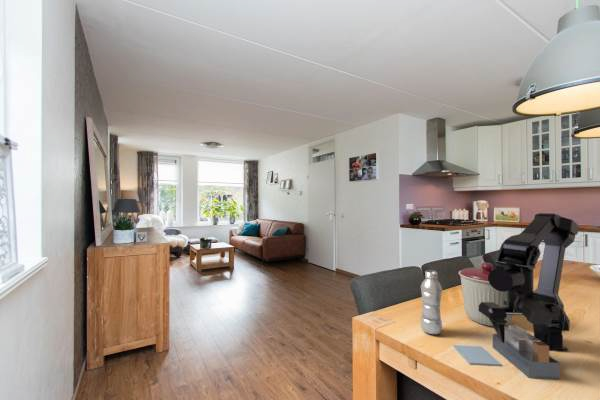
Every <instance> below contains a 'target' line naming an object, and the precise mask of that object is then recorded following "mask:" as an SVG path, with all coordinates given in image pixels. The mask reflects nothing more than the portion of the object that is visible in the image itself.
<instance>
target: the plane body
mask: <svg viewBox="0 0 600 400" xmlns="http://www.w3.org/2000/svg"><path fill="white" fill-rule="evenodd" d="M504 327H505V328H509V325H507V326H506V325H505V326H504ZM492 348H493V349H494V350H495V351H496V352H498V354H500V355H501V356H502V357H504V358H505V359H506V360H507V361H508V362H509V363H511V364H512V365H513V366H514V367H515V368H516V369H517V370H519V371H520V372H522V373H523V374H524V375H525V376H526V377H527V378H529V379H546V380H547V379H548V380H560V362H558V361H557V360H556V359H554V358H553V357H552V356H550V350H549V345H547V344H545V343H544V342H539V341H532V352H520V351H517V350H516V349H515V348H514V347H512V346H511V345H510V344H508V343H507V342H506V341H504V343H502V342H501V341H500V339H499V337H498V335H497V333H492Z"/></svg>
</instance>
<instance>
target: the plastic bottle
mask: <svg viewBox="0 0 600 400" xmlns="http://www.w3.org/2000/svg"><path fill="white" fill-rule="evenodd" d="M424 273H425V275H424V277H425V279H424V280H422V282H421V284H420V290H421V302H422V310H421V311H422V312H421V316H420V317H421V318H420V327H421V329H422V332H423V331H424V333H427V334H428V335H440V333H441V332H442V329H443V323H442V318H441V301H442V300H441V299H442V294H443V288H442V285H441V283H440V282H439V280H438V278H439V277H438V272H437V271H436V270H430V269H429V270H427V269H426V270H425V271H424Z"/></svg>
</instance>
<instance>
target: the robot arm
mask: <svg viewBox="0 0 600 400" xmlns="http://www.w3.org/2000/svg"><path fill="white" fill-rule="evenodd" d="M578 233H579V224H578V223H577V222H575V221H574V220H573V219H571V218H567V217H565V216H561V215H559V214H557V213H553V212H552V213H547V212H546V213H545V212H543V213H542V212H539V213H535V215H534V218H533V220H532V221H531V222H529V224H528V225H527V226H526V227H525V228H524V229H523V230H522V231H521V233H518V234H514V235H510V236H509V237H507V238H506V239H505V240H504V241H503V242H502V243H501V245H500V248H499V251H498V253H497V255H496V259H495V262H494V263H495V264H496V265H495V266H496V268H493V270H492V271H491V272H490V273H489V275H488V281H489V283H490V285H491V286H492V287H493V288H494V289H496V290H498V291H502V292H505V291H507V301H505V300H504V304H505V305H506V306H507V307H501V306H499V305H497V304H496V303H494V302H481V303H480V304H479V312H481V313H482V314H484V315H485V316H487V317H488V318H489V319H490V321H491V323H492V324H493V326H494V327H493V326H492V327H493V328H494V331H495V334H497V335H498V337H499V339H500V341H501V342H502V343H504V340H505V327H504V326H505V324H506V323H507V321H506V320H504V319H505V318H506V315H512V316H524V317H525V318H526V321H527V322H528V323H530V324H531V325H532V329H533V336H534V337H535V338H537V339H539V340H540V341H541V342H544V343H545V344H547V345H549V351H569V348H568V347H566V346H564V338H563V336H564V335H563V332H569V331H570V326H571V324H570V319H569V317H568V315H567V313H566V311H565V304H564V302H563V300H561V297H560V296H559V290H560V284H561V278H562V272H563V266H564V260H565V254H566V249H567V248H568V247H569V246H570V245H572V244H573V243H574V242H575V239H576V236H577V235H578ZM542 242H544V248H543V249H544V250H543V254H542V261H541V266H540V272H539V278H538V282H537V283H538V284H537V288H536V289H534V270H535V269H536V265H537V263H538V260H539V259H540V257H541V250H540V247H539V246H540V245H541V243H542Z"/></svg>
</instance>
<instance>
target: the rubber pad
mask: <svg viewBox="0 0 600 400" xmlns="http://www.w3.org/2000/svg"><path fill="white" fill-rule="evenodd" d="M452 347H453V348H454V349H455V350H456V352H458V354H459V355H461V357H462V358H463V359H464V360H465V361H466V362H467V363H468V364H469V365H477V366H497V367H502V363H500V361H499V360H497V359H496V358H495V357H494V356H493V355H491V354H490V353H489V352H488V350H486V349H485V348H484V347H483V346H480V345H460V344H457V345H456V344H453V345H452Z"/></svg>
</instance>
